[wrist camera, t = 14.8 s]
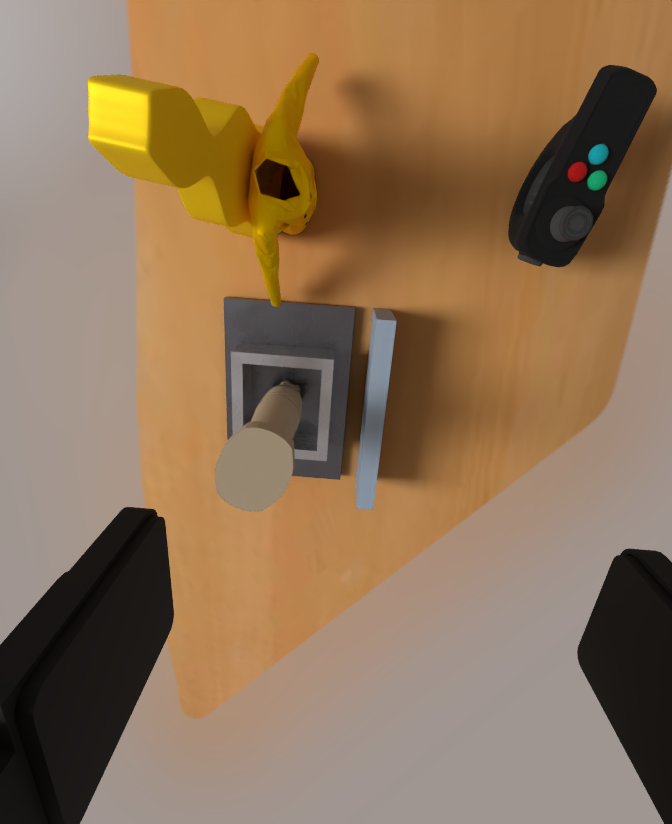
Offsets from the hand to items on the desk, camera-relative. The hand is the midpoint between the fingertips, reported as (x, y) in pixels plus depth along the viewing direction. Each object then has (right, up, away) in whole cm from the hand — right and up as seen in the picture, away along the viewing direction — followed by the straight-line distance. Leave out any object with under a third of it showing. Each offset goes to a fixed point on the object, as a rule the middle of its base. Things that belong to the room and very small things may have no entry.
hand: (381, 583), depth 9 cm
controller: (+16, +22, +26) cm, 38 cm away
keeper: (-6, +6, +34) cm, 35 cm away
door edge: (+3, +5, +34) cm, 34 cm away
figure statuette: (-6, +22, +27) cm, 36 cm away
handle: (-6, +5, +33) cm, 34 cm away
